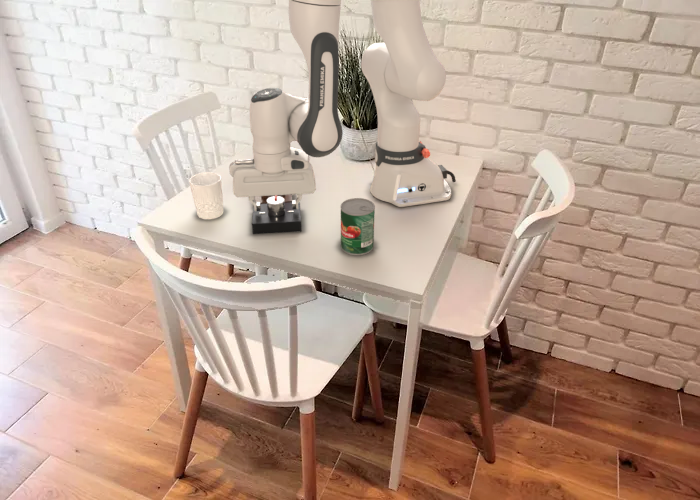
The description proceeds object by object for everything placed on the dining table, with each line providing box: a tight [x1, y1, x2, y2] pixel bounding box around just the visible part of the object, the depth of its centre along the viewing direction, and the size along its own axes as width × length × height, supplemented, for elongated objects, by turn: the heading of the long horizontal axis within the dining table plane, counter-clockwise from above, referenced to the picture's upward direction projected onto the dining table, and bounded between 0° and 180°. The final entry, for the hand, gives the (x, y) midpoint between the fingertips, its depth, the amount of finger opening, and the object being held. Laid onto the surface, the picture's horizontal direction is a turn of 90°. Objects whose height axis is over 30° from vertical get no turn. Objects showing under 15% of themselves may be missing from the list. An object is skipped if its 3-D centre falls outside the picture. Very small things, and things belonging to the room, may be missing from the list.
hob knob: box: [267, 195, 285, 217], centre depth 140 cm, size 4×4×4 cm
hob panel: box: [251, 201, 303, 235], centre depth 142 cm, size 12×10×3 cm
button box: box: [255, 195, 293, 204], centre depth 152 cm, size 10×8×4 cm
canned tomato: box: [340, 197, 376, 256], centre depth 131 cm, size 8×8×11 cm
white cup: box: [188, 171, 224, 220], centre depth 144 cm, size 8×8×10 cm
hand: (276, 209), depth 141 cm, fingers open, 8 cm apart
